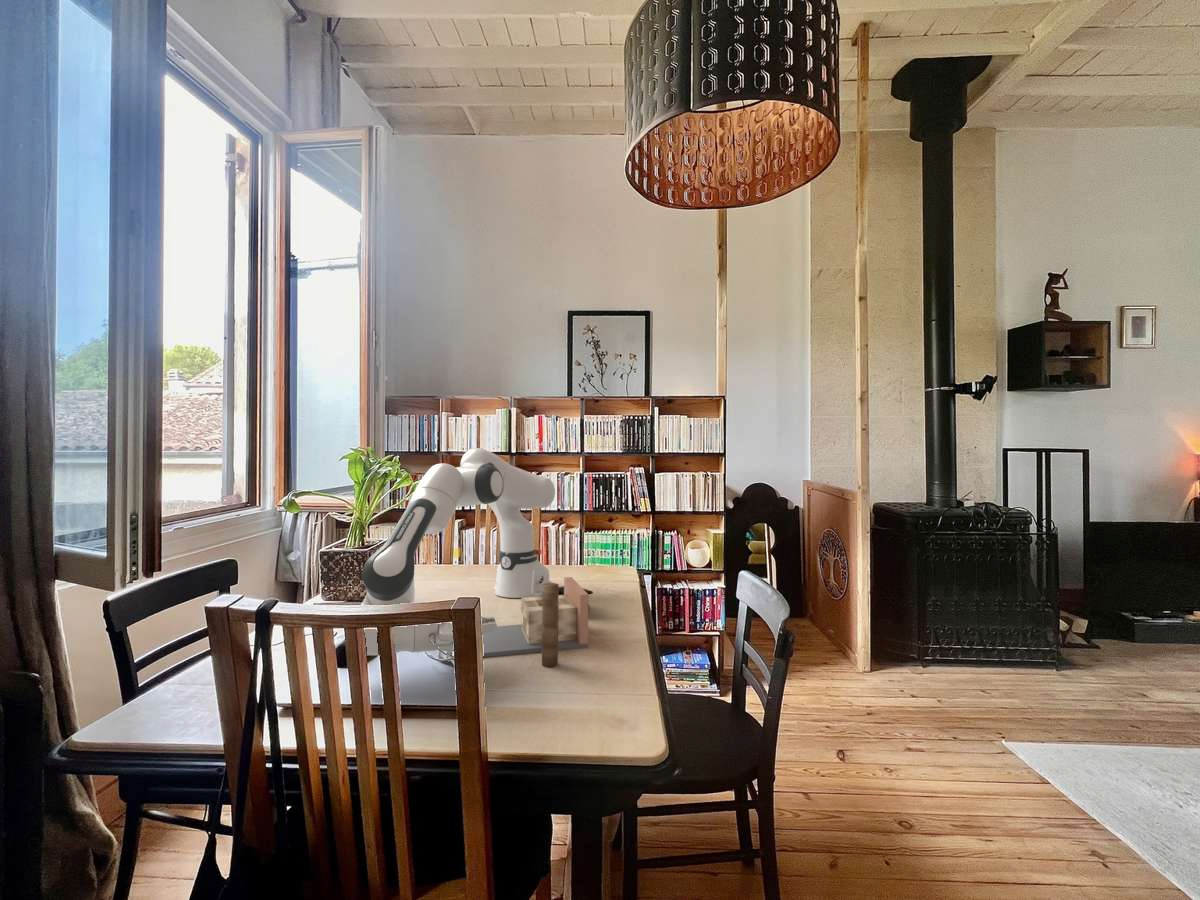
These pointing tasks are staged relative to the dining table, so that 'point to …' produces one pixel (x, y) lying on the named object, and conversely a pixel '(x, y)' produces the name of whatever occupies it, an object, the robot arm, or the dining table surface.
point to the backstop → (515, 642)
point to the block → (533, 619)
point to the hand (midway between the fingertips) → (495, 624)
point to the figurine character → (561, 592)
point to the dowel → (550, 625)
